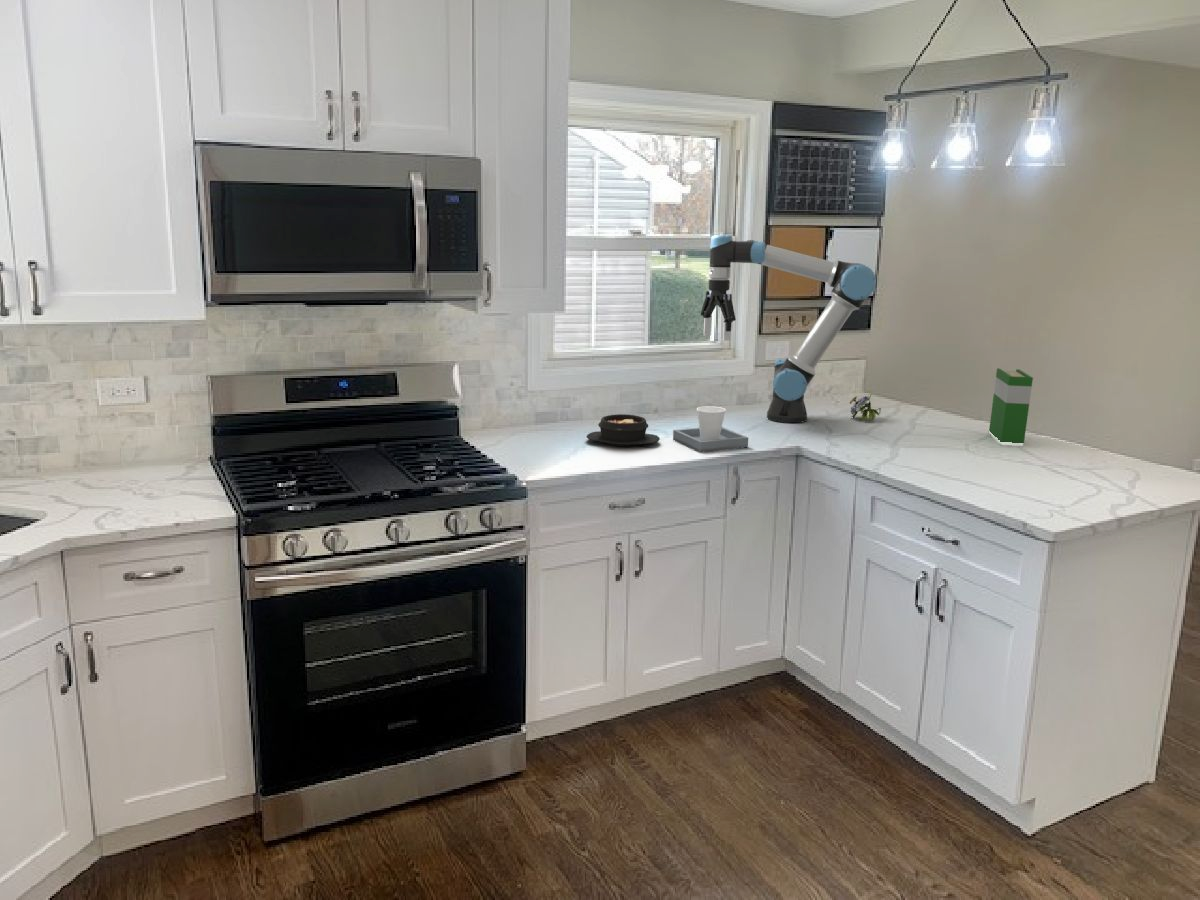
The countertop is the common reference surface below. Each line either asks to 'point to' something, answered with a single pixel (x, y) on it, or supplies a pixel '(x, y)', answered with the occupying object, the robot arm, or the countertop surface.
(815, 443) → the countertop surface
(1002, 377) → the hardback book
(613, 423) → the casserole
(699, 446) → the tray
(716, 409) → the cup
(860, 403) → the passion flower
